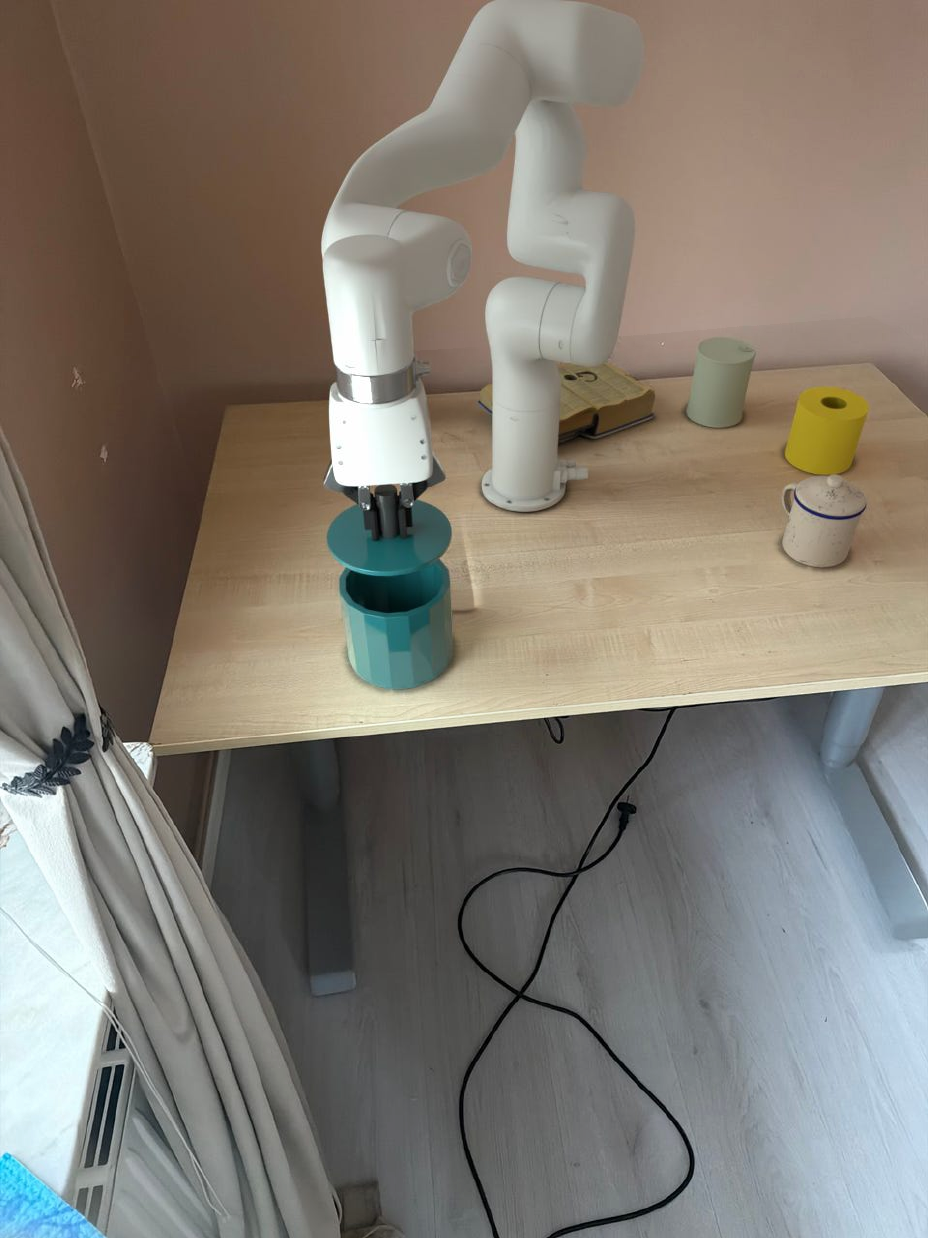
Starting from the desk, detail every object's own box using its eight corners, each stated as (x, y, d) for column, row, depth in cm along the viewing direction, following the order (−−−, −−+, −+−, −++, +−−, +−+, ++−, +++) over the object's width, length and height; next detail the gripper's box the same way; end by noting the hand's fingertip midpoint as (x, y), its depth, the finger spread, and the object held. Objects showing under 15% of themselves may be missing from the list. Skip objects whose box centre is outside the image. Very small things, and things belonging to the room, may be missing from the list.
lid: (446, 501, 104) (445, 451, 99) (457, 575, 94) (456, 523, 89) (328, 509, 103) (321, 459, 98) (326, 585, 93) (318, 533, 88)
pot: (447, 613, 115) (445, 542, 107) (456, 685, 106) (454, 612, 98) (349, 621, 114) (339, 550, 106) (349, 693, 105) (338, 621, 97)
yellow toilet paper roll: (814, 481, 135) (830, 425, 129) (771, 449, 142) (784, 395, 136) (865, 465, 138) (883, 410, 132) (821, 434, 145) (836, 381, 139)
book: (595, 378, 160) (598, 347, 156) (655, 418, 150) (659, 386, 146) (476, 416, 151) (475, 384, 147) (530, 462, 141) (531, 428, 137)
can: (747, 427, 147) (762, 359, 139) (691, 428, 147) (703, 360, 139) (735, 399, 154) (749, 333, 146) (682, 400, 154) (692, 334, 146)
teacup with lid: (863, 557, 122) (889, 485, 114) (812, 577, 119) (835, 505, 111) (800, 511, 130) (820, 441, 122) (751, 530, 127) (769, 459, 119)
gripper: (456, 353, 88) (459, 507, 101) (292, 362, 87) (315, 517, 100) (463, 389, 83) (466, 548, 95) (288, 400, 82) (313, 558, 94)
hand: (389, 531), depth 97 cm, fingers closed on lid, 2 cm apart
